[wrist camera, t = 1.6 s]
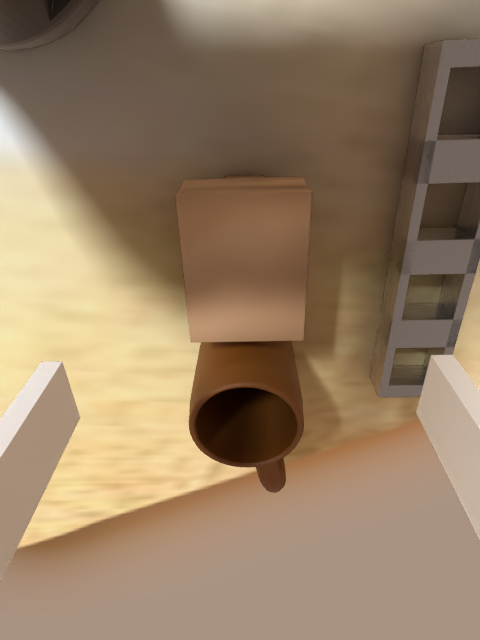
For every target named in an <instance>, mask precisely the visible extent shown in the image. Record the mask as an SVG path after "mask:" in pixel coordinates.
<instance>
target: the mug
mask: <svg viewBox="0 0 480 640" xmlns="http://www.w3.org/2000/svg"><path fill="white" fill-rule="evenodd" d="M303 428H304V420H303V402H302V396H301V390H300V384H299V379H298V373H297V368H296V363H295V358H294V352H293V347H292V343H291V341H246V342H201V345H200V350H199V356H198V361H197V365H196V371H195V376H194V382H193V388H192V393H191V400H190V416H189V430H190V434H191V436H192V438H193V441H194V442H195V444H196V445H197V447H198V448H199V449H200V450H201V451H202V452H203V453H204V454H206V455H207V456H209V457H210V458H212V459H214V460H216V461H218V462H220V463H223V464H226V465H230V466H236V467H256V469H257V473H258V476H259V479H260V481H261V483H262V485H263V486H264V487H265V488H266V490H268V491H270V492H278V491H280V490H281V489H282V488H283V487H284V485H285V482H286V476H285V475H286V474H285V465H284V459H283V457H285V456H286V455H287V454H289V453H290V452H291V451H292V450H293V449H294V448H295V446H296V445H297V444H298V442H299V440H300V438H301V436H302V433H303Z"/></svg>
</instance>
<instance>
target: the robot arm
mask: <svg viewBox="0 0 480 640" xmlns="http://www.w3.org/2000/svg"><path fill="white" fill-rule="evenodd" d="M97 1H98V0H0V49H4V50H20V49H29V48H34V47H38V46H41V45H45V44H47V43H50V42H52V41H54V40H56V39H58V38H60V37H62V36H63V35H65V34H67V33H68V32H69V31H71V30H72V29H73V28H75V27H76V26H77V25H78V24H79V23H80V22H81V21H82V20H83V19H84V18H85V17H86V16H87V15H88V14H89V12H90V11H91V10H92V8H93V7H94V6H95V4H96V3H97ZM416 414H417V416H418V418H419V420H420V422H421V424H422V426H423V428H424V430H425V432H426V434H427V436H428V438H429V440H430V442H431V444H432V446H433V448H434V450H435V452H436V454H437V456H438V458H439V460H440V462H441V464H442V466H443V468H444V470H445V472H446V474H447V476H448V477H449V480H450V482H451V484H452V486H453V488H454V490H455V492H456V494H457V496H458V498H459V500H460V502H461V504H462V506H463V508H464V510H465V512H466V514H467V516H468V518H469V520H470V522H471V524H472V526H473V528H474V530H475V532H476V534H477V536H478V538H479V540H480V390H479V389H478V388H477V386H476V385H475V384H474V382H473V381H472V380H471V378H470V377H469V376H468V374H467V373H466V371H465V370H464V369H463V367H462V366H461V365H460V363H459V362H458V361H457V359H456V358H455V357H454V355H431V358H430V362H429V365H428V369H427V373H426V377H425V381H424V385H423V388H422V392H421V396H420V400H419V404H418V408H417V411H416ZM79 419H80V416H79V412H78V409H77V406H76V403H75V400H74V397H73V394H72V391H71V387H70V384H69V381H68V378H67V375H66V372H65V369H64V366H63V362H41V363H40V364H39V366H38V367H37V369H36V370H35V371H34V373H33V374H32V376H31V377H30V378H29V380H28V381H27V383H26V384H25V385H24V387H23V388H22V390H21V391H20V392H19V394H18V395H17V397H16V398H15V399H14V401H13V402H12V404H11V405H10V406H9V408H8V409H7V411H6V412H5V413H4V415H3V416H2V418H1V419H0V582H1V580H2V578H3V576H4V574H5V571H6V569H7V567H8V565H9V563H10V561H11V559H12V557H13V555H14V553H15V551H16V549H17V547H18V545H19V543H20V541H21V539H22V536H23V534H24V532H25V530H26V528H27V526H28V524H29V522H30V520H31V518H32V516H33V514H34V512H35V510H36V508H37V506H38V503H39V501H40V499H41V497H42V495H43V493H44V491H45V489H46V487H47V485H48V483H49V481H50V479H51V477H52V475H53V472H54V470H55V468H56V466H57V464H58V462H59V460H60V458H61V456H62V454H63V452H64V450H65V448H66V446H67V444H68V442H69V439H70V437H71V435H72V433H73V431H74V429H75V427H76V425H77V423H78V421H79Z"/></svg>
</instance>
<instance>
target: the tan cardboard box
mask: <svg viewBox="0 0 480 640" xmlns="http://www.w3.org/2000/svg"><path fill="white" fill-rule="evenodd" d="M175 200H176V209H177V219H178V228H179V237H180V246H181V256H182V265H183V274H184V283H185V293H186V302H187V311H188V320H189V330H190V339H191V342H246V341H303V339H304V322H305V305H306V287H307V270H308V253H309V235H310V218H311V200H312V191H311V190H310V188H309V186H308V185H307V183H306V181H305V180H304V178H303V176H302V177H267V178H263V175H238V176H225V179H196V180H185V181H184V182H183V184H182V186H181V187H180V189H179V190H178V192H177V193H176V195H175Z"/></svg>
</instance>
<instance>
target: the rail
mask: <svg viewBox="0 0 480 640" xmlns="http://www.w3.org/2000/svg"><path fill="white" fill-rule="evenodd" d="M463 67H480V39H463V40H442V41H438V42H433V43H429V44H425V45H424V51H423V57H422V63H421V69H420V75H419V81H418V87H417V93H416V100H415V106H414V112H413V118H412V124H411V130H410V136H409V142H408V148H407V154H406V160H405V167H404V173H403V179H402V185H401V191H400V197H399V203H398V209H397V215H396V221H395V227H394V234H393V240H392V246H391V252H390V258H389V264H388V270H387V276H386V282H385V288H384V294H383V301H382V307H381V313H380V319H379V325H378V331H377V337H376V343H375V349H374V355H373V361H372V368H371V374H370V379H371V381H372V383H373V386H374V388H375V391H376V393H377V395H378V397H420V396H421V392H422V388H423V385H424V381H425V377H426V373H427V369H428V365H429V362H430V358H431V355H452V354H453V351H454V347H455V343H456V340H457V336H458V333H459V329H460V326H461V322H462V319H463V315H464V312H465V308H466V305H467V301H468V297H469V294H470V290H471V287H472V283H473V280H474V276H475V273H476V269H477V266H478V262H479V259H480V134H456V135H438V131H439V126H440V120H441V115H442V110H443V105H444V100H445V95H446V90H447V85H448V80H449V75H450V69H451V68H463ZM434 183H467V187H466V191H465V196H464V200H463V204H462V208H461V212H460V216H459V220H458V224H457V227H445V228H420V223H421V218H422V212H423V207H424V202H425V197H426V192H427V187H428V184H434ZM426 274H445V278H444V282H443V286H442V290H441V294H440V299H439V303H405V299H406V294H407V289H408V284H409V279H410V275H426ZM396 348H427V352H426V356H425V360H424V364H423V365H411V366H393V361H394V355H395V350H396Z"/></svg>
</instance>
